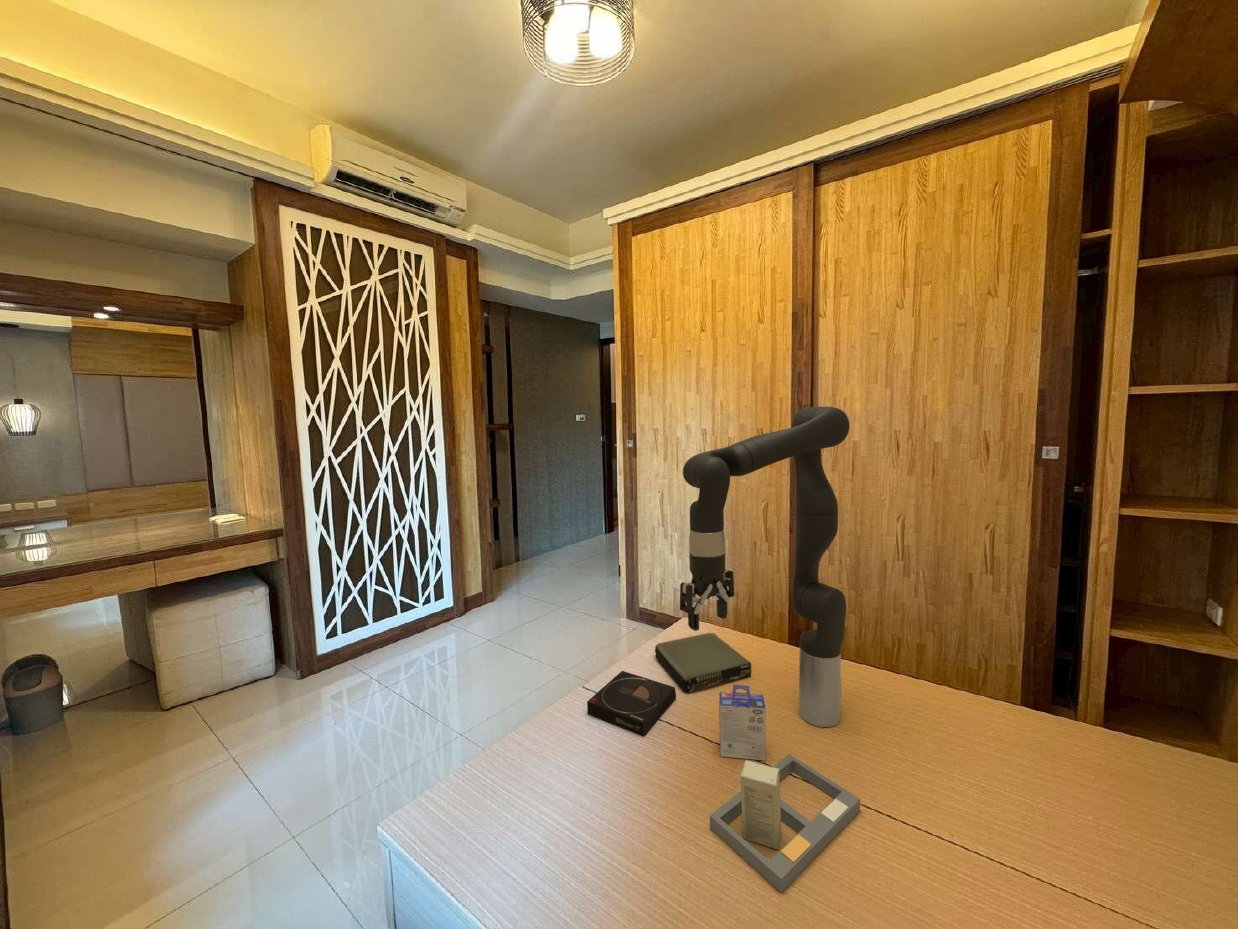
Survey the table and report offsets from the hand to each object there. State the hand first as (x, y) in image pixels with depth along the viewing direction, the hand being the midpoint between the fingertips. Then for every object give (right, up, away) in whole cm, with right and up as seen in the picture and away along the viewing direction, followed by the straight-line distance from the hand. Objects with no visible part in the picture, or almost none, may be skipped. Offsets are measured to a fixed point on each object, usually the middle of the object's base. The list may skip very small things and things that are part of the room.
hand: (708, 623), depth 102 cm
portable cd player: (-16, -29, +21) cm, 39 cm away
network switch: (+5, -26, +38) cm, 47 cm away
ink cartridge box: (+8, -30, +4) cm, 31 cm away
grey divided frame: (+12, -32, -14) cm, 36 cm away
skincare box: (+6, -32, -17) cm, 37 cm away
